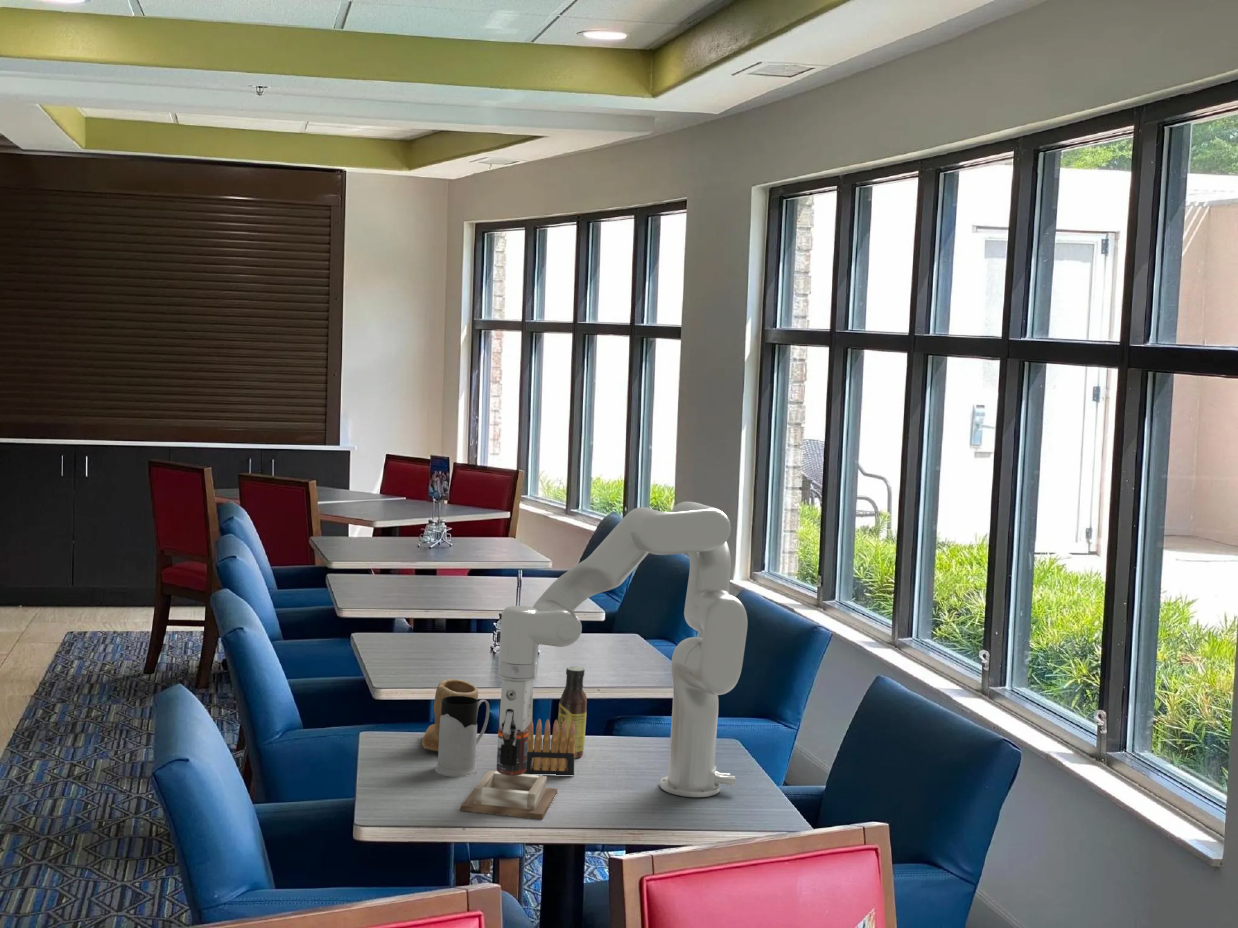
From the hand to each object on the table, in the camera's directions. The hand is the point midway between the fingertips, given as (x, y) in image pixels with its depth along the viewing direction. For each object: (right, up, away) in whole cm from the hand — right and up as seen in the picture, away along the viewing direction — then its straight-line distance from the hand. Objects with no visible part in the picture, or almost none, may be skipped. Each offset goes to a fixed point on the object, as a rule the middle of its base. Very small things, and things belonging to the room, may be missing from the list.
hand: (512, 758), depth 263 cm
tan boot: (-17, -5, +36) cm, 40 cm away
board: (0, -9, +1) cm, 9 cm away
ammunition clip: (+6, -8, +20) cm, 22 cm away
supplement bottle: (0, -3, 0) cm, 3 cm away
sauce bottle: (+10, -7, +35) cm, 37 cm away
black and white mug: (-12, -7, +21) cm, 25 cm away
